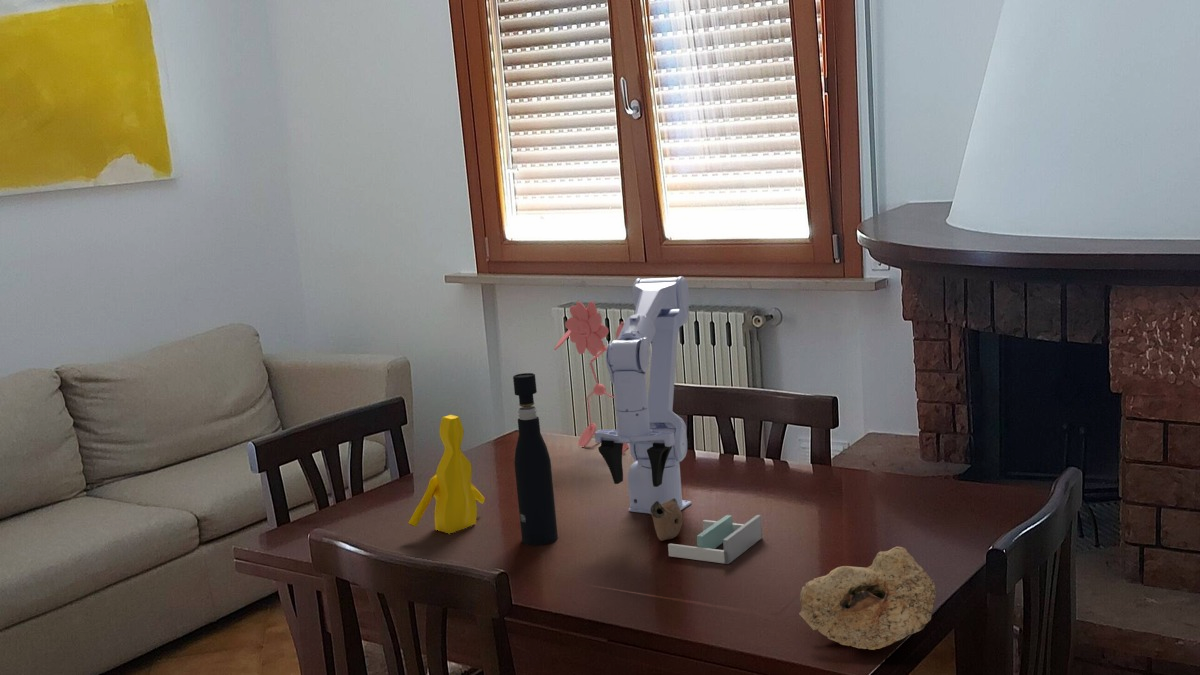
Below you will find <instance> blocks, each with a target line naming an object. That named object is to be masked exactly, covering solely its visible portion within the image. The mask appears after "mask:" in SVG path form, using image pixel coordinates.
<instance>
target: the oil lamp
mask: <svg viewBox="0 0 1200 675" xmlns="http://www.w3.org/2000/svg"><path fill="white" fill-rule="evenodd" d="M650 513H651V514H650V516H651V517H652V522H653V527H654V530H655V534H656V535H657V538H658V540H659V541H665V540H673V539H674V538H675V537H677V536H678V535H679V534H680V531H681V529H682V526H683V514H682V510H680V508H679V506H678V504H677V500H676V499H675V498H674V499H671V500H670V501H668V502H665V503H663V504H660V503H659V502H658V501H656V502H655V503H654V504H653V505H652V506H651V508H650Z"/></svg>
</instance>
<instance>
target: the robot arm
mask: <svg viewBox="0 0 1200 675" xmlns="http://www.w3.org/2000/svg"><path fill="white" fill-rule="evenodd" d="M689 289H690V288H689V285H688V281H687V279H686V278H685V277H684V276H682V275H680V276H678V277H673V276H672V277H655V278H654V277H653V278H641V277H638V278H636V280H635V281H634V282H633V284H632V302H633V306H634V307H635V310H634V314H631V315H630V316H628V317H627V318H626V319H625V321H624V325H623V328H622V330H621V332H620V334H619V336H618V338H617V339H614V340H612V342H610V343H608V344H607V345H606V346H607V350H606V351H605V362H606V368H607V370H608V373H609V381H610V383H611V384H613V385H612V386H613V396H614V398H613V399H614V409H615V419H616V422H615V423H616V429H598V430H597V431H595V435H594V439H595V444H600V446H599V447H597V448H598V452H599V454H600V455H601V456H602V458H603V459H604V462H605V463H606V465H607V467H608V469H609V471H610V474H611V477H612V481H613V484H615V485H619V484H620V483H621V482H623V481H624V470H623V454H622V449H623V443H628V445H629V451H630V455H631V458H633V460H634V462H633V463H632V464H631V465H630V467H629V469H628V470H629V471H628V474H627V475H628V476H627V479H628V480H627V481H628V482H627V483H628V492H629V493H628V494H629V506H630V507H629V508H628V511H629V512H630V513H631V512H633V513H642V514H649V515H651V513H650V508H651V506H652V505H653V504H654V503H655V502H656V501H658V502H659V503H660V504H663V503H665V502H668V501H670V500H671V499H674V498H675V499H676V500H677V504H678V506H679V508H680V510H681V511H682V510H684V509H685V508H687V507H688V506H690V505H692V501H691V500H684V499H683V493H682V480H681V479H682V477H681V466H680V462H682V461H683V460H684V459H685V458H686V455H687V452H688V438H687V425H686V423H685V421H684V419H683V418H682V417H680V416H679V415H678V414H677V413H675V412H674V411H673V408H674V407H673V406H674V392H675V379H676V378H675V377H676V376H675V375H676V362H677V348H678V347H677V346H678V337H679V330H680V327H682V326H683V325H685V324H687V322H688V317H689V308H690V290H689ZM650 346H651V349H650ZM649 364H650V366H649ZM648 369H649V378H648V379H649V380H648V386H647V375H646V372H647V371H648ZM647 387H648V388H647Z"/></svg>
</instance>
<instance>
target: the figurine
mask: <svg viewBox="0 0 1200 675" xmlns="http://www.w3.org/2000/svg"><path fill="white" fill-rule="evenodd" d="M569 313H570V315H571V317H569V318H568V319H567V320H566V321H565V323H564V326H565V329H567V331H566V332H565V333H564V334H563V336H561V338H560V339H559V341H558V342H557V344H556V346H555V347H554V348H553V350H554V351H556V350H558V349H559V348H560V347H561V346H562V345H563V344H564V343H565V342H566V341H567V340H568V338H569V339H570V342H572V343H575V347H576V350H577V352H578V354H579V355H584V354H585V351H586V350H587V352H589V354H590V355H592V356H593V358H591V359H590V362H589V366H590V368H591V372H592V374H593V377H594V380H595V383H596V384H595V385H594V386H593V390H592V392H591V393H590V394H589V395H587V396H586V403H587V410H588V419H589V425H588V426H587V427H585V429H584V430H583V432H582V433H581V435H580V437H579V440H578V444H577V446H578V445H579V446H582V447H583V446H584V448H585V447H586V446H587V445H588V444H589V443H590V442H591V441H592V439H593V437H594V436H595V432H596V429H597V425H596V423H595V422H592V416H591V410H590V400H589V398H590V397H591V396H592V395H593V394H595V395H596V396H598V397H599V396H603V395H606V396H609V397H610V398H613V399H614V395H611V394H609V393H607V392H606V386H605V385H604V384H602V383H600V382H598V379H597V375H596V372H595V369H594V368H595V367H594V365H593V363H594V362H595V360H597V359H598V357H599V356H601V355H602V354H603V353H604V352H606V350H607V346H608V345H605V343H604V340H603V339H604V338H606V337H607V335H609V332H610V330H609V327H607V326H606V325H604V324H602V321H603V320H602V318H603V317H602V314H601V313H600V312H598V308H597V306H596V304H595V302H594V301H591V300H590V301H589V303H588V304H587V307H586V306H585V305H584V304H583V303H582V302H580V301H577V302H576V303H575V305H571V306H570V307H569ZM624 323H625V321H621V322H620V324H619V325H618V327H617V328H616V332H615V340H617V338H618V336H619V334H620V332H621V330H622V328H623V325H624ZM627 448H629V449H630V446H629V443H623V449H622V455H623V453H624V452H625V450H626V449H627Z"/></svg>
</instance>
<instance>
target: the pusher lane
mask: <svg viewBox="0 0 1200 675" xmlns="http://www.w3.org/2000/svg"><path fill="white" fill-rule="evenodd" d="M717 521H718V520H717ZM717 521H716V520H710V519H703V520H702V532H703V531H704V530H706V529H707V528H709V527H710V526H712V525H713V524H714V523H716V522H717ZM732 523H733V533H732V534H730V535H729V536H728V537H726V538H725V539H723V543H722V544H723V546H722V547H723V549H717V548H715V549H710V548H702V547H698V546H694V545H693V546H692V545H687V544H686V545H685V544H676V543H668V544H667V548H668V550H667V551H668V557H673V558H681V559H690V560H696V561H703V562H712V563H719V564H726V565H729V564H730V563H731V564H732V562H733V561H735V560H736V559H737V558H738V557H740V556H741V555H742V554H743V553H745V552H746V551H747V550H748V549H750V548H751V547H753V546H754V545H755V544H756V543H757V542H759V541H760V540H762V539H763V526H762V525H763V524H762V523H763V522H762V514H756V515H755V516H754V517H752V518H751V519H750V520H748V521H747V522H745V523H736V522H732Z"/></svg>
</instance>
